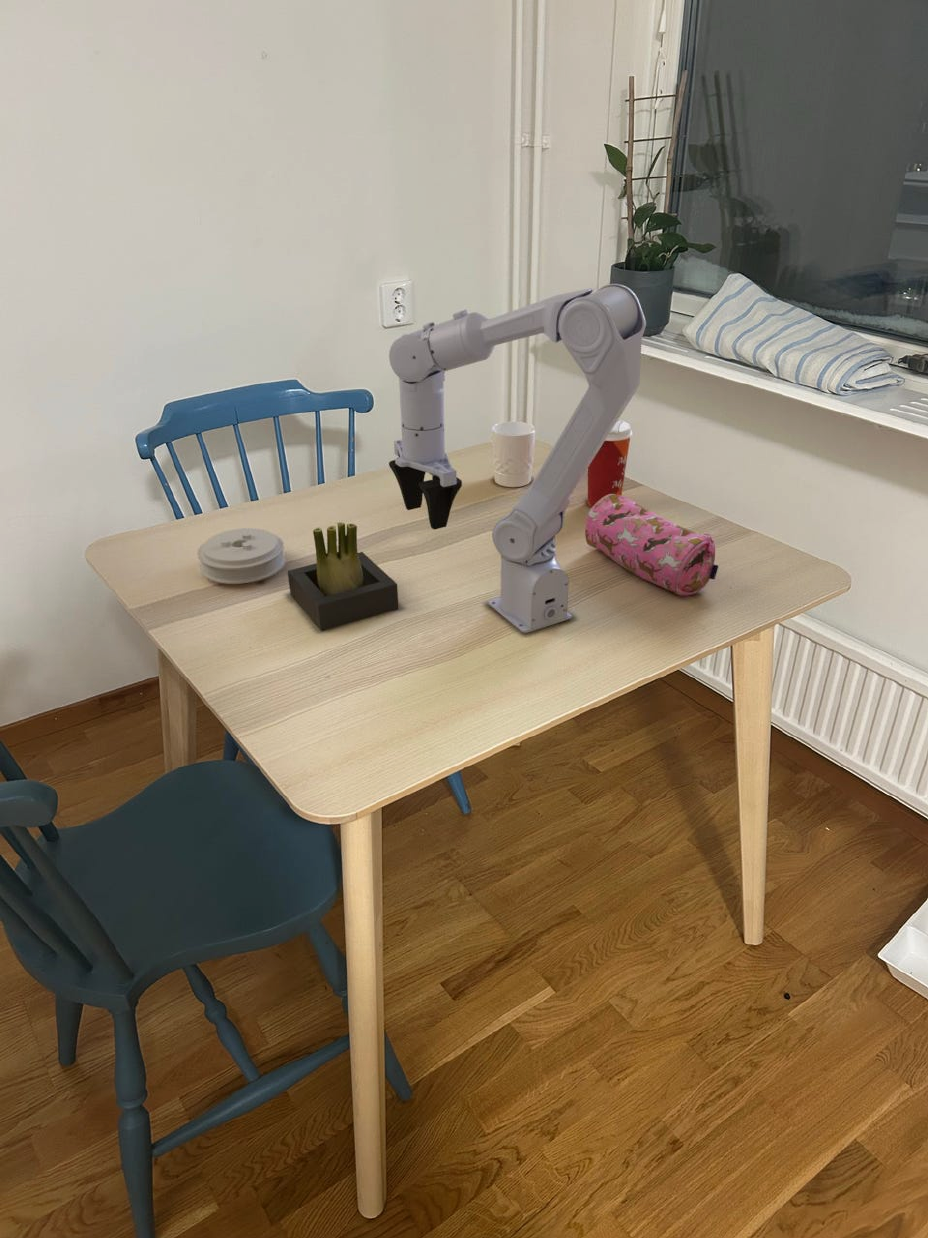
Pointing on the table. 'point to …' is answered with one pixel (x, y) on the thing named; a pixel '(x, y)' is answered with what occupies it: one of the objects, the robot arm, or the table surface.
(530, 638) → the table surface
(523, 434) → the white cup
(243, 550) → the lid
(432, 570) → the table surface
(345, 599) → the holder
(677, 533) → the pencil case
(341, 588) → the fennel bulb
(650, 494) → the table surface
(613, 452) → the paper cup
